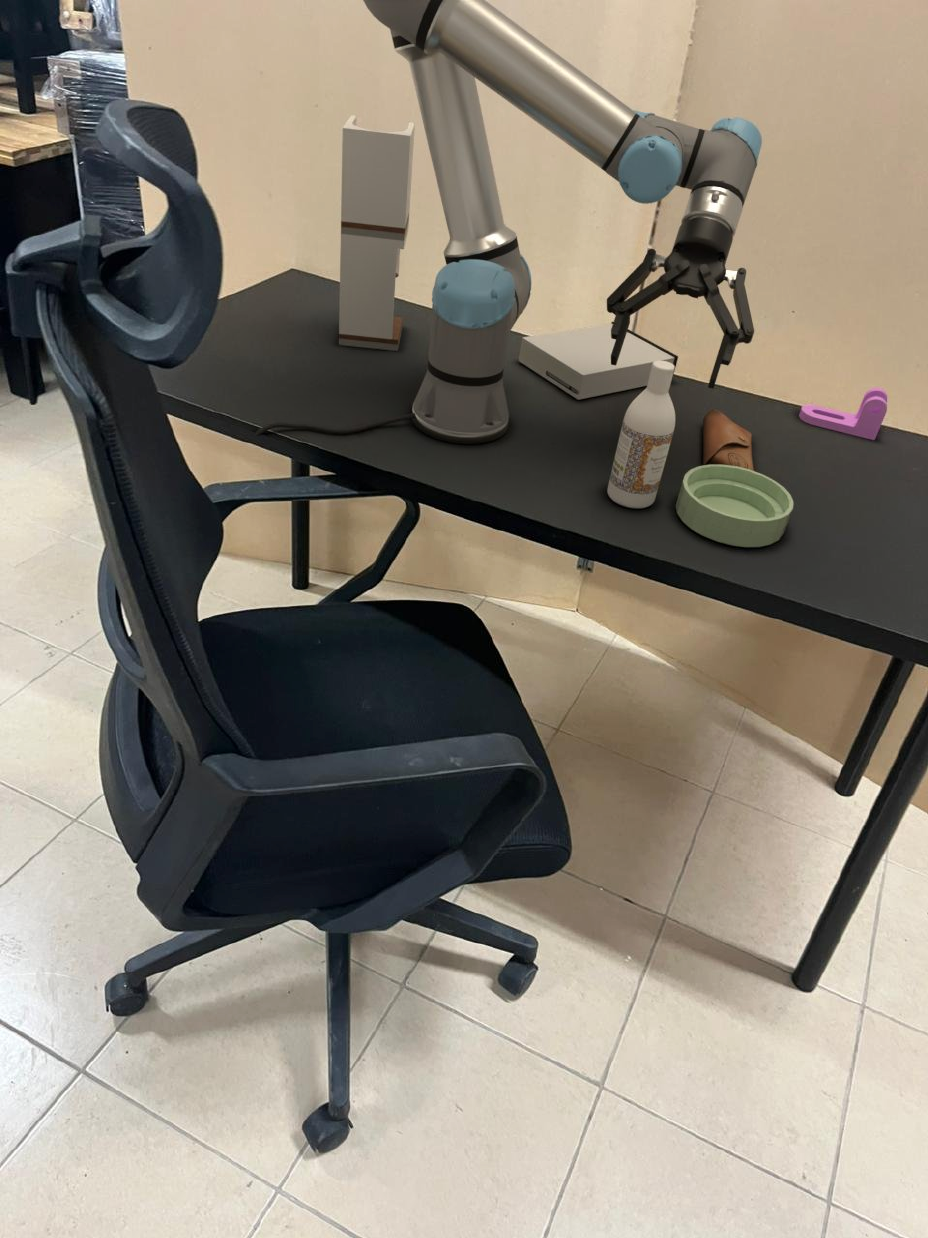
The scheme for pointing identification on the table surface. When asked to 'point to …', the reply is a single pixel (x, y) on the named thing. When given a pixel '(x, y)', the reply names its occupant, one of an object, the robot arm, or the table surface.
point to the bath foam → (644, 442)
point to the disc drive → (592, 360)
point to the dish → (734, 505)
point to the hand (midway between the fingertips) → (661, 372)
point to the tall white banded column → (373, 232)
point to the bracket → (851, 416)
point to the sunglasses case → (725, 442)
